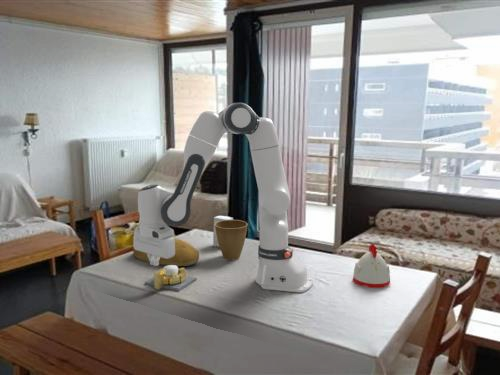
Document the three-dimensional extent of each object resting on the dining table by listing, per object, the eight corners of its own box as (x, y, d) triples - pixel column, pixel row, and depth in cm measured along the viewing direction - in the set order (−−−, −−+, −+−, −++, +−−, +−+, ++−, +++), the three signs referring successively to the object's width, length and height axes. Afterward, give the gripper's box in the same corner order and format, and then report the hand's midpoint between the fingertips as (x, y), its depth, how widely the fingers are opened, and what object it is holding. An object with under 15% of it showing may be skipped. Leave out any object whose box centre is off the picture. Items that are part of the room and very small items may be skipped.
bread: (184, 272, 177) (183, 249, 175) (125, 258, 195) (123, 237, 193) (210, 259, 192) (210, 238, 191) (153, 248, 210) (152, 228, 209)
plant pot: (208, 257, 195) (208, 223, 193) (233, 250, 205) (233, 218, 202) (229, 265, 184) (228, 229, 182) (254, 257, 194) (254, 223, 192)
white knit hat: (357, 288, 160) (359, 249, 157) (349, 274, 173) (350, 239, 171) (394, 288, 160) (397, 249, 157) (383, 274, 173) (385, 239, 171)
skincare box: (213, 246, 212) (212, 217, 209) (219, 243, 217) (218, 214, 214) (227, 248, 208) (227, 219, 205) (233, 245, 213) (233, 216, 211)
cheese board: (165, 272, 173) (165, 258, 172) (190, 275, 169) (189, 261, 168) (143, 286, 158) (142, 271, 157) (170, 290, 154) (169, 275, 153)
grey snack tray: (196, 280, 168) (196, 265, 167) (178, 291, 157) (178, 276, 156) (163, 273, 175) (163, 259, 174) (144, 284, 164) (143, 269, 163)
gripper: (127, 227, 159) (130, 262, 162) (163, 235, 147) (165, 273, 149) (141, 223, 164) (144, 257, 167) (177, 231, 152) (179, 267, 154)
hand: (154, 265), depth 158 cm, fingers closed
